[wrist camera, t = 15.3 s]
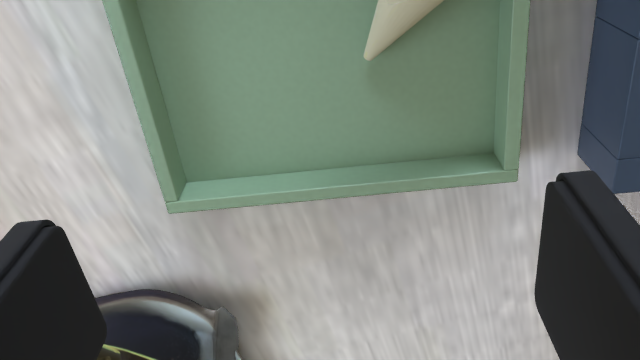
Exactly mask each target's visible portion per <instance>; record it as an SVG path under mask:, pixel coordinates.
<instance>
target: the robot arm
mask: <svg viewBox="0 0 640 360" xmlns="http://www.w3.org/2000/svg"><path fill="white" fill-rule="evenodd" d="M535 301H536V306H537V309H538V312H539V314H540V316H541V319H542V321H543V323H544V325H545V327H546V330H547V332H548V334H549V336H550V339H551V341H552V343H553V345H554V348H555V350H556V352H557V354H558V356H559V359H560V360H640V225H639V224H638V223H637V222H636V220H635V219H634V218H633V217H632V216H631V214H630V213H629V212H628V211H627V210H626V208H625V207H624V206H623V205H622V204H621V202H620V201H619V200H618V199H617V198H616V196H615V195H614V194H613V193H612V191H611V190H610V189H609V188H608V187H607V185H606V184H605V183H604V182H603V181H602V179H601V178H600V177H599V176H598V175H597V173H595V172H594V171H580V172H569V173H560V174H559V175H558V176H557V178H556V182H549V183H548V184H547V187H546V193H545V202H544V211H543V220H542V229H541V238H540V247H539V256H538V265H537V274H536V283H535ZM106 335H107V326H106V322H105V320H104V318H103V315H102V313H101V311H100V309H99V307H98V304H97V302H96V300H95V298H94V295H93V293H92V291H91V289H90V287H89V284H88V282H87V280H86V278H85V276H84V273H83V271H82V269H81V267H80V264H79V262H78V260H77V258H76V256H75V253H74V251H73V249H72V247H71V245H70V242H69V240H68V238H67V236H66V234H65V232H64V230H63V229H62V228H61V227H59V226H56V225H55V224H54V223H53V222H52V221H50V220H38V221H27V222H20V223H17V224H16V225H14V226H13V227H12V229H11V230H10V231H9V232H8V233H7V234H6V235H5V237H4V238H3V239H2V240H1V241H0V360H96V359H97V357H98V355H99V353H100V351H101V349H102V347H103V345H104V342H105V340H106Z"/></svg>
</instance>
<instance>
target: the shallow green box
mask: <svg viewBox="0 0 640 360" xmlns="http://www.w3.org/2000/svg"><path fill="white" fill-rule="evenodd" d="M102 1H103V5H104V8H105V11H106V14H107V18H108V21H109V24H110V27H111V30H112V34H113V37H114V40H115V43H116V46H117V50H118V53H119V56H120V59H121V63H122V66H123V69H124V72H125V75H126V79H127V82H128V85H129V88H130V91H131V95H132V98H133V101H134V104H135V107H136V111H137V114H138V117H139V120H140V124H141V127H142V130H143V133H144V136H145V140H146V143H147V146H148V149H149V152H150V156H151V159H152V162H153V165H154V168H155V172H156V175H157V178H158V181H159V185H160V188H161V191H162V194H163V197H164V201H165V202H166V203H165V204H166V207H167V210H168V213H169V214H172V213H183V212H194V211H205V210H215V209H226V208H237V207H248V206H259V205H269V204H280V203H291V202H302V201H313V200H323V199H334V198H345V197H356V196H367V195H377V194H388V193H399V192H410V191H421V190H431V189H442V188H453V187H464V186H474V185H485V184H496V183H507V182H516V181H518V169H519V157H520V143H521V129H522V114H523V100H524V86H525V71H526V57H527V43H528V29H529V14H530V0H444V1H443V2H441V3H440V4H439V5H438V6H437V7H435V8H434V9H433V10H432V11H431V12H429V13H428V14H427V15H426V16H425V17H423V18H422V19H421V20H420V21H418V22H417V23H416V24H415V25H414V26H412V27H411V28H410V29H409V30H408V31H406V32H405V33H404V34H403V35H402V36H400V37H399V38H398V39H397V40H396V41H394V42H393V43H392V44H391V45H390V46H388V47H387V48H386V49H385V50H384V51H382V52H381V53H380V54H379V55H377V56H376V57H375V58H374V59H373V60H372V61H367V60H366V59H365V58H364V56H363V55H364V51H365V48H366V44H367V40H368V36H369V33H370V29H371V25H372V21H373V18H374V14H375V10H376V6H377V3H378V0H102Z"/></svg>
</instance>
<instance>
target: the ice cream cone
mask: <svg viewBox="0 0 640 360" xmlns="http://www.w3.org/2000/svg"><path fill="white" fill-rule="evenodd" d="M443 1H444V0H378V3H377V6H376V10H375V14H374V18H373V21H372V25H371V29H370V33H369V36H368V40H367V44H366V48H365V51H364V55H363V56H364V58H365V59H366V60H367V61H372V60H373V59H374V58H375V57H376V56H377V55H379V54H380V53H381V52H382V51H384V50H385V49H386V48H387V47H388V46H390V45H391V44H392V43H393V42H394V41H396V40H397V39H398V38H399V37H400V36H402V35H403V34H404V33H405V32H406V31H408V30H409V29H410V28H411V27H412V26H414V25H415V24H416V23H417V22H418V21H420V20H421V19H422V18H423V17H425V16H426V15H427V14H428V13H429V12H431V11H432V10H433V9H434V8H435V7H437V6H438V5H439V4H440V3H441V2H443Z"/></svg>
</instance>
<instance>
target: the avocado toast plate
mask: <svg viewBox="0 0 640 360" xmlns="http://www.w3.org/2000/svg"><path fill="white" fill-rule="evenodd" d="M95 300H96V302H97V304H98V307H99V309H100V311H101V313H102V315H103V318H104V320H105V322H106V326H107V335H106V340H105V342H104V345H103V347H102V349H101V351H100V353H99V355H98V357H97V359H96V360H242V358H241V356H240V355H239V353H238V352H237V350H238V328H237V323H236V318H235V317H234V316H233V315H232V314H231V313H229V312H228V311H227V310H226V309H225V308H224V307H221V308H219V309H217V310H211V309H208V308H205V307H202V306H201V305H199V304H197V303H196V302H194V301H192V300H190V299H188V298H185V297H183V296H180V295H177V294H173V293H170V292H165V291H160V290H135V291H129V292H124V293H118V294H113V295H109V296H104V297H99V298H95Z"/></svg>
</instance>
